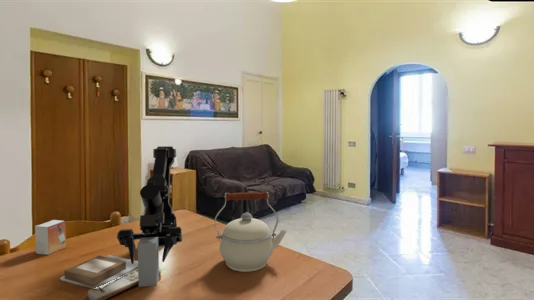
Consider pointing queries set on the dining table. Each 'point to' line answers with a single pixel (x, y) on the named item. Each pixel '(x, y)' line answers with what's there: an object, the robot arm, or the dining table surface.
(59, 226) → the small box
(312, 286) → the dining table surface
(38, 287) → the dining table surface
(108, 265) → the plinth
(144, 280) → the post
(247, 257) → the kettle
